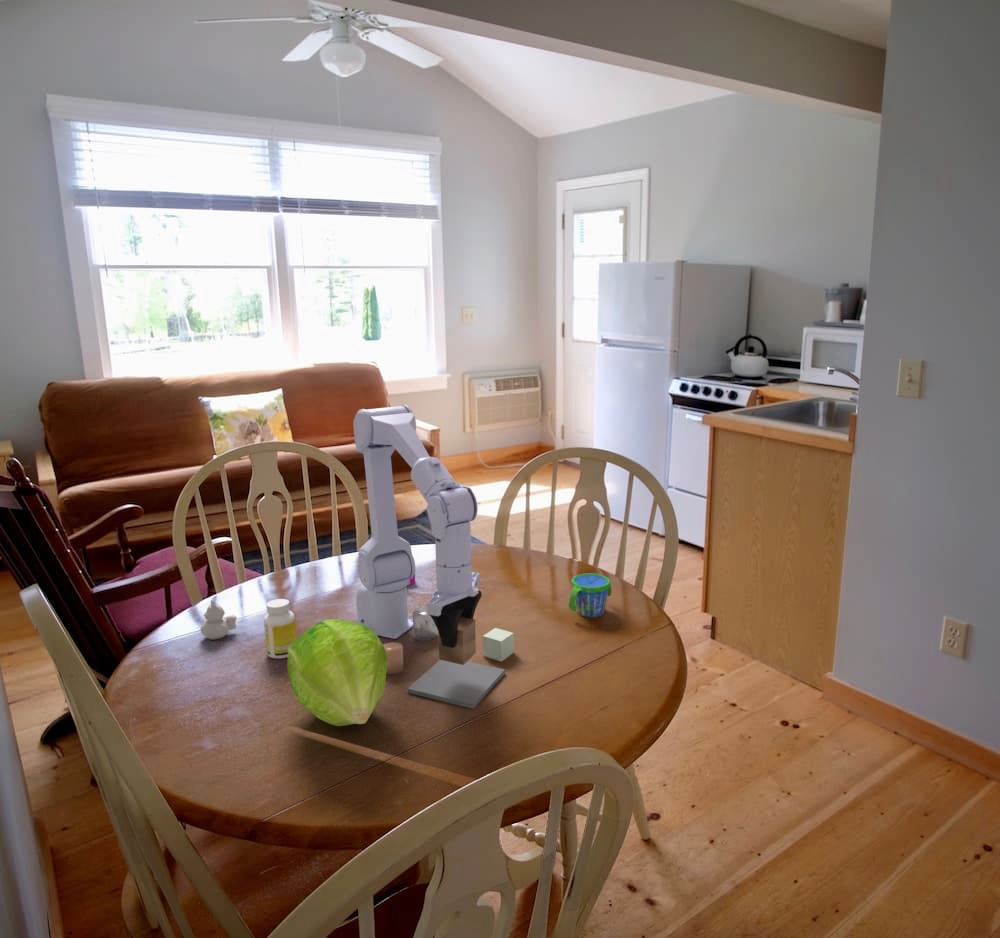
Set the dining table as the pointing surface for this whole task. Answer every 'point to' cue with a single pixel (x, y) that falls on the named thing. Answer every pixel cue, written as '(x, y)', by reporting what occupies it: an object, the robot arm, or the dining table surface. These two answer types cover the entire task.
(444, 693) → the slate coaster
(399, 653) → the peach rounded cylinder
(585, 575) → the snack cup
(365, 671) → the lettuce
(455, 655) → the walnut block
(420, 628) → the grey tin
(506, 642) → the pale green block
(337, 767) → the dining table surface
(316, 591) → the dining table surface
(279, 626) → the supplement bottle
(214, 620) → the grey rounded figure
